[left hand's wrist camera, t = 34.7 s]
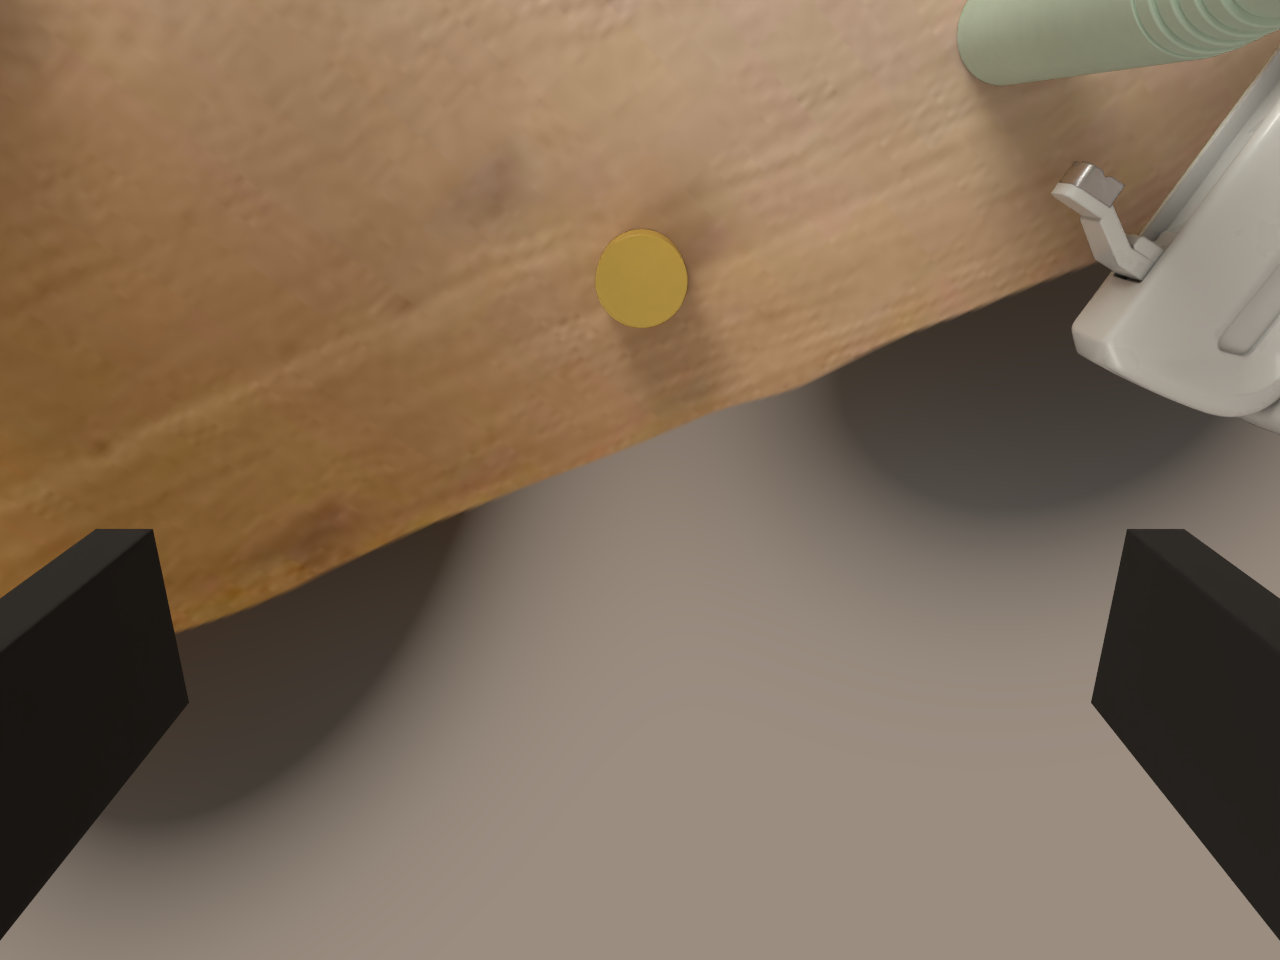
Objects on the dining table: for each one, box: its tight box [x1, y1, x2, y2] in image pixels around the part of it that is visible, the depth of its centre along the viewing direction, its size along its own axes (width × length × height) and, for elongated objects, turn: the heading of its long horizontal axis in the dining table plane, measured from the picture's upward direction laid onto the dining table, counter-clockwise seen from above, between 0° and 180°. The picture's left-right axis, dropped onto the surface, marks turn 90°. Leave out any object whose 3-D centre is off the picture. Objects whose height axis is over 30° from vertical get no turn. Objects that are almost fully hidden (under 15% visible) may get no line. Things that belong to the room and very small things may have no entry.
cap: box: [595, 229, 688, 328], centre depth 43 cm, size 4×4×2 cm
